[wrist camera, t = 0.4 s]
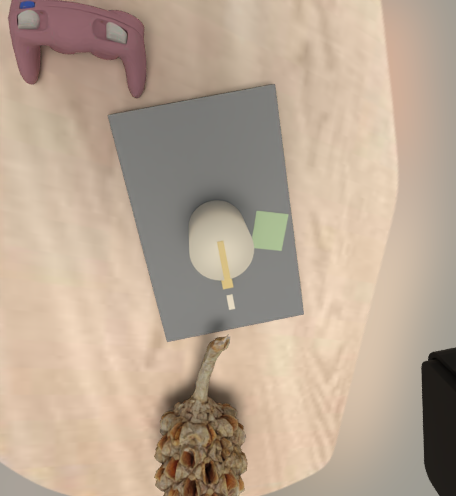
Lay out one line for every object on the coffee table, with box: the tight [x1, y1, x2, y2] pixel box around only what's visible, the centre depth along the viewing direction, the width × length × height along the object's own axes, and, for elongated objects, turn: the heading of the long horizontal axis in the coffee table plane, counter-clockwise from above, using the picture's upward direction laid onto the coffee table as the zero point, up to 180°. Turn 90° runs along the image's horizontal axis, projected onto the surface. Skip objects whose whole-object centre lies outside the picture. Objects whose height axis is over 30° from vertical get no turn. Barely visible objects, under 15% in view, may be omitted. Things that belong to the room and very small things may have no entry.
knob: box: [189, 200, 254, 289], centre depth 37 cm, size 8×5×7 cm, turn 10°
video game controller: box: [8, 0, 146, 98], centre depth 32 cm, size 10×5×7 cm, turn 83°
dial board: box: [108, 84, 304, 342], centre depth 40 cm, size 22×14×2 cm, turn 10°
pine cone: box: [154, 334, 247, 496], centre depth 43 cm, size 22×10×10 cm, turn 177°
